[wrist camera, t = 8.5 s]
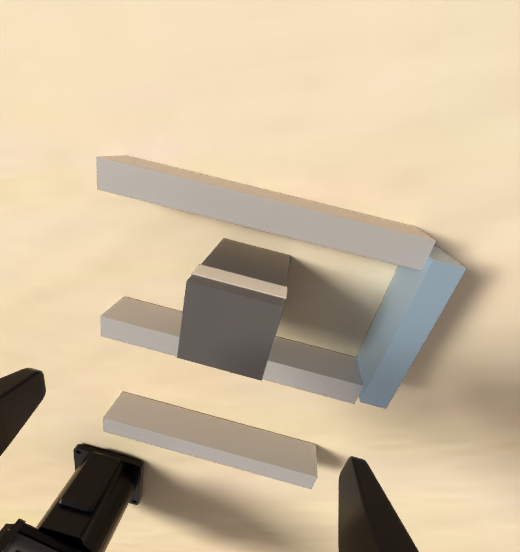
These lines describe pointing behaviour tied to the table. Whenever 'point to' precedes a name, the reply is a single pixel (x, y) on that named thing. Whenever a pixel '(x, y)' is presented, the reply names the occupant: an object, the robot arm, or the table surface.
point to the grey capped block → (234, 308)
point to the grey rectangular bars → (284, 353)
